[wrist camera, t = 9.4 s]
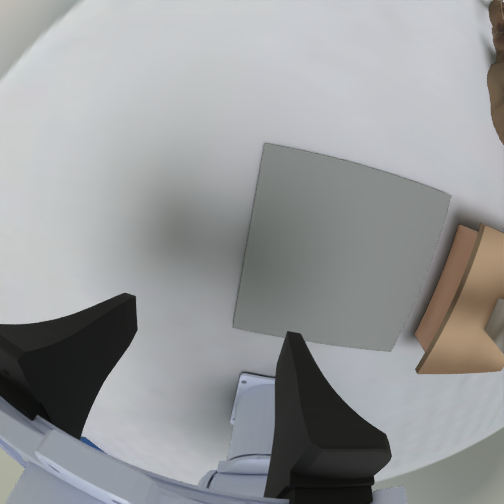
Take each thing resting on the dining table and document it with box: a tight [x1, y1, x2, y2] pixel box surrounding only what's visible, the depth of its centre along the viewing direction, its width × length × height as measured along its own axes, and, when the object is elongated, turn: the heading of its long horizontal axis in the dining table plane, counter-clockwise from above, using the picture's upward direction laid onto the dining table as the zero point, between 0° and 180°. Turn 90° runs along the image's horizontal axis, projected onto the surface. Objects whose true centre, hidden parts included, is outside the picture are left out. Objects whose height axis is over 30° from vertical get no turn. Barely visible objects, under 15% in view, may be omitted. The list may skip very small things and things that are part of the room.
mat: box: [233, 143, 451, 352], centre depth 20 cm, size 15×15×1 cm
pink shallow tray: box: [415, 224, 478, 352], centre depth 18 cm, size 11×11×4 cm
